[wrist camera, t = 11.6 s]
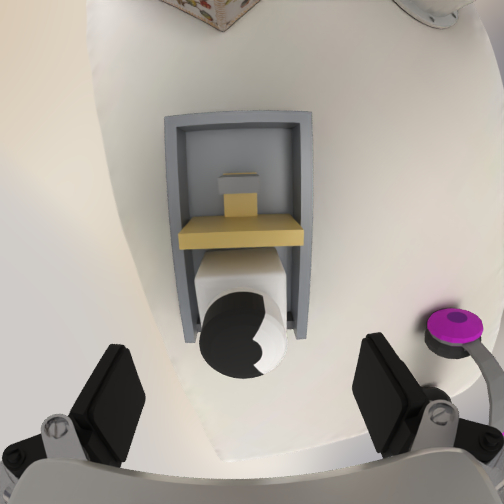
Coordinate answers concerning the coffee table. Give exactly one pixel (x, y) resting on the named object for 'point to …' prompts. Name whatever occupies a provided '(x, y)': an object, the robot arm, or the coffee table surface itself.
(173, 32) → the coffee table surface
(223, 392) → the coffee table surface
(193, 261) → the gray tray
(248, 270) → the medicine bottle
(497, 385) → the headphones
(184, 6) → the decorative jar
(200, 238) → the pusher
